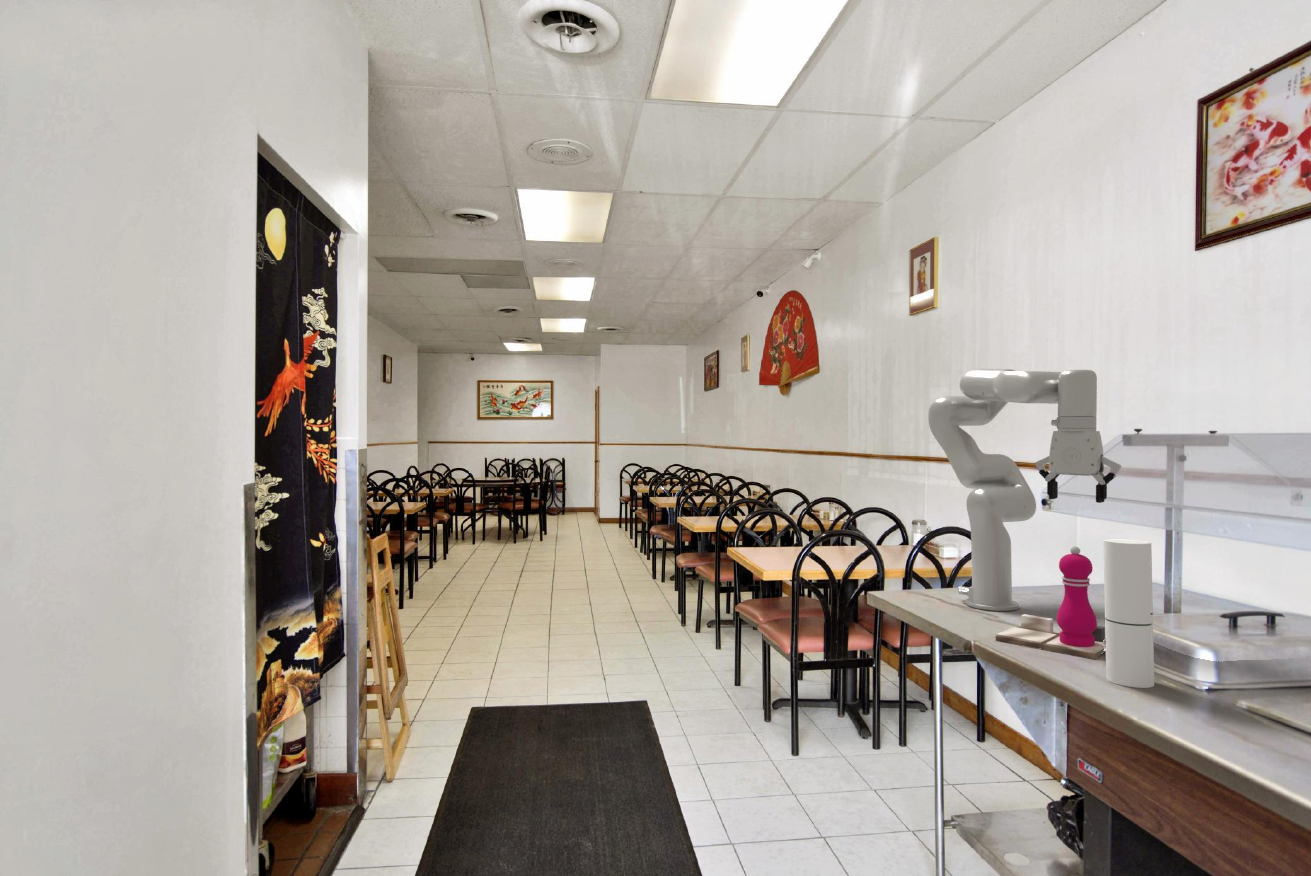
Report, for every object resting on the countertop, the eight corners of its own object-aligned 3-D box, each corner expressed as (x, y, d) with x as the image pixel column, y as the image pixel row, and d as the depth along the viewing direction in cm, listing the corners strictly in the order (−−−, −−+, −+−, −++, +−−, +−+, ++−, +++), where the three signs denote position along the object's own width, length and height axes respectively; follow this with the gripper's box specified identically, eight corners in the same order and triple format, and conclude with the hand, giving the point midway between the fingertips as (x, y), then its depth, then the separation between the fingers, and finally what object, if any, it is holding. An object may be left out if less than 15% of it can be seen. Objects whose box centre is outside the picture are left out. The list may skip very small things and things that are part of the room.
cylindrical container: (1158, 681, 125) (1155, 541, 126) (1148, 690, 120) (1145, 544, 121) (1112, 672, 130) (1109, 537, 131) (1101, 681, 125) (1098, 541, 126)
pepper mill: (1105, 647, 142) (1103, 548, 142) (1069, 647, 142) (1067, 548, 142) (1084, 638, 149) (1082, 543, 149) (1049, 638, 149) (1048, 544, 149)
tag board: (995, 640, 152) (995, 620, 153) (1018, 630, 161) (1017, 611, 161) (1094, 659, 138) (1094, 636, 138) (1113, 647, 146) (1113, 626, 146)
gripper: (1029, 424, 162) (1028, 498, 163) (1114, 424, 149) (1113, 505, 149) (1043, 424, 167) (1042, 496, 167) (1126, 424, 154) (1126, 502, 154)
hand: (1076, 500), depth 158 cm, fingers open, 9 cm apart
